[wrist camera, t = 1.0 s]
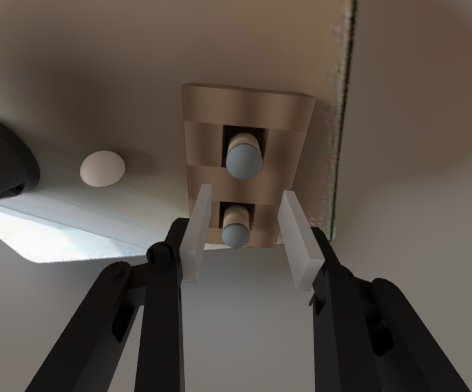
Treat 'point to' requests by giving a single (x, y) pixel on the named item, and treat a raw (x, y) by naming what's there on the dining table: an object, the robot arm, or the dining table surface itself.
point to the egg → (102, 169)
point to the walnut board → (271, 147)
